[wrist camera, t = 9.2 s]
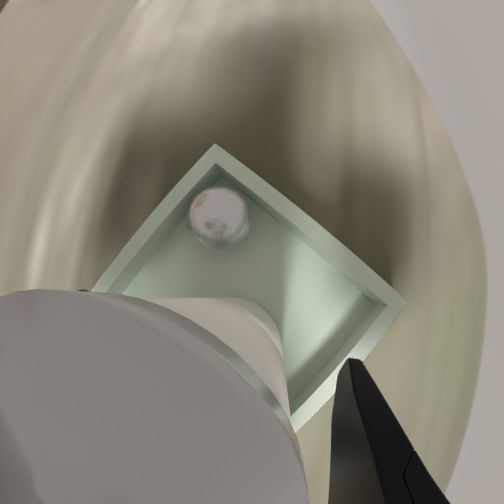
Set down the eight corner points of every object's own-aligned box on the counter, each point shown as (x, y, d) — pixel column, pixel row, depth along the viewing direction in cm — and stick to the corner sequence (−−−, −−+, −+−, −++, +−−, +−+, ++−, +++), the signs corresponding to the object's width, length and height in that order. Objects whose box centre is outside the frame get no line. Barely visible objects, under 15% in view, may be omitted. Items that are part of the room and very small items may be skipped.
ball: (266, 221, 17) (264, 204, 14) (226, 266, 17) (216, 260, 14) (222, 185, 18) (211, 163, 14) (184, 228, 17) (165, 214, 14)
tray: (390, 301, 17) (407, 302, 14) (244, 459, 16) (239, 481, 13) (222, 162, 18) (214, 143, 16) (91, 320, 18) (68, 322, 15)
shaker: (302, 359, 16) (388, 565, 2) (218, 408, 16) (99, 614, 2) (246, 274, 17) (117, 183, 3) (164, 327, 17) (-76, 382, 3)
